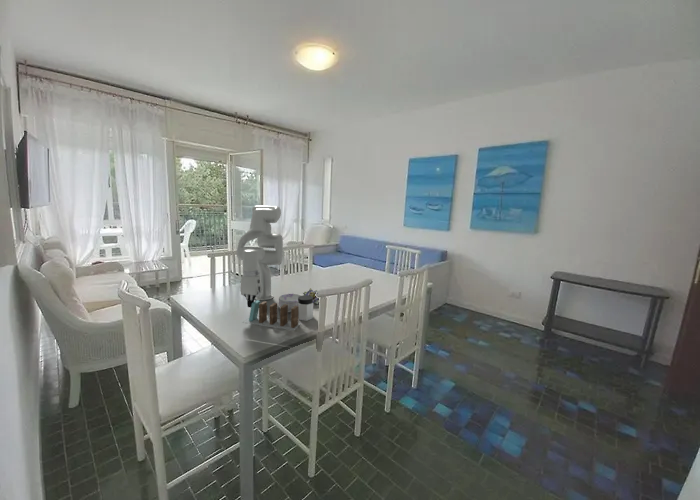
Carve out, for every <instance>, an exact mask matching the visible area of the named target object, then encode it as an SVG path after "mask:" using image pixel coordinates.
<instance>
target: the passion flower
mask: <svg viewBox="0 0 700 500" xmlns="http://www.w3.org/2000/svg"><path fill="white" fill-rule="evenodd" d="M316 292H317V293H318V289H316V290H313V289H312V288H309V290H307V291H304V292H302V295H309V296H312V297H313V306H314V304H317V305H318V304H319V298H317V297H316V296H315V294H316Z"/></svg>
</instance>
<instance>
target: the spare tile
mask: <svg viewBox="0 0 700 500" xmlns="http://www.w3.org/2000/svg"><path fill="white" fill-rule="evenodd" d="M259 304H261V300H256V299H255V300H254V302H253V303H252V305H251V308H250V310H249V311H250V312H249V317H248V318H249V321H253V320H255V319H256V318H257V316H259Z"/></svg>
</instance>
